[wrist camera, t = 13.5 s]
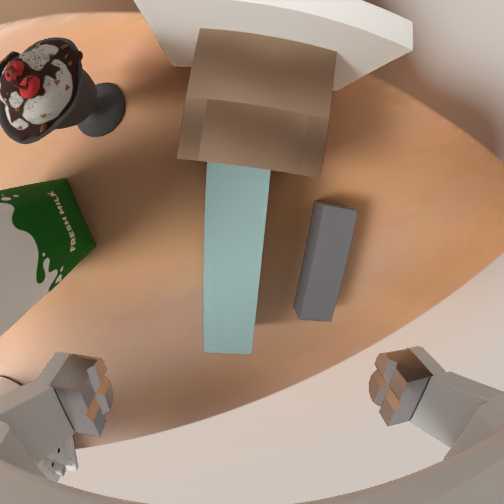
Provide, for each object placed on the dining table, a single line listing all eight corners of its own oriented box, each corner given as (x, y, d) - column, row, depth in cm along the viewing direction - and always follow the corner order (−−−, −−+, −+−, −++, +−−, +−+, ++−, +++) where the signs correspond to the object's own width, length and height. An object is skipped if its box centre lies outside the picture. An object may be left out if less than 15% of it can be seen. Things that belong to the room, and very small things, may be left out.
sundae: (144, 125, 22) (45, 88, 8) (79, 158, 22) (-47, 170, 8) (124, 62, 20) (34, -17, 6) (62, 96, 20) (-54, 65, 6)
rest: (323, 308, 28) (331, 321, 26) (293, 306, 28) (299, 319, 25) (346, 206, 25) (357, 211, 23) (314, 200, 25) (323, 205, 23)
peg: (248, 325, 28) (251, 354, 24) (206, 324, 28) (203, 352, 24) (267, 124, 21) (275, 123, 17) (213, 120, 20) (209, 119, 17)
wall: (336, 91, 22) (412, 50, 11) (172, 66, 21) (133, -1, 9) (338, 71, 22) (412, 22, 10) (177, 46, 20) (143, -29, 9)
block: (290, 173, 24) (320, 178, 16) (193, 159, 23) (176, 158, 15) (304, 82, 22) (336, 51, 14) (207, 67, 21) (199, 28, 13)
